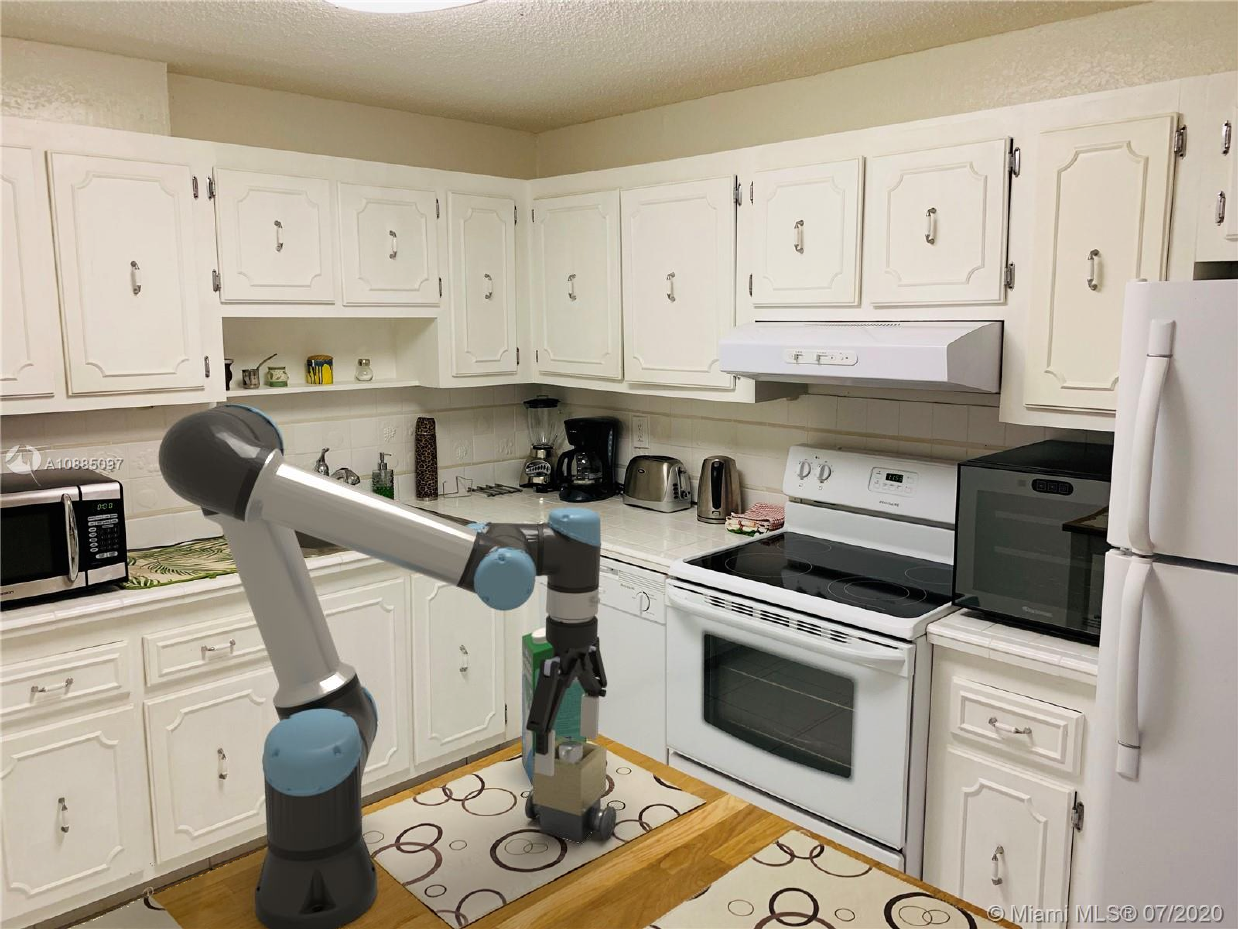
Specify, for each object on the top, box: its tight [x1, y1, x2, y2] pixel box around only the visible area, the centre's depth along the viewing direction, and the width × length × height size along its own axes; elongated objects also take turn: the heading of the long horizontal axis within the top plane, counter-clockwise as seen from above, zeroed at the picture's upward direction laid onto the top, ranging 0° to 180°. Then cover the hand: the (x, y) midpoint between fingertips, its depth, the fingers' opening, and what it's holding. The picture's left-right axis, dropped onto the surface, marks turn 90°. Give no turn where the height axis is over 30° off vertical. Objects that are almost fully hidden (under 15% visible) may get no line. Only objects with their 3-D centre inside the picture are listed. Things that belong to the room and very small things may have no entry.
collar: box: [532, 737, 607, 816], centre depth 136 cm, size 8×8×7 cm
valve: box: [524, 741, 617, 844], centre depth 136 cm, size 13×6×13 cm, turn 64°
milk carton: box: [521, 627, 588, 786], centre depth 153 cm, size 9×9×25 cm
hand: (567, 754), depth 135 cm, fingers open, 13 cm apart
